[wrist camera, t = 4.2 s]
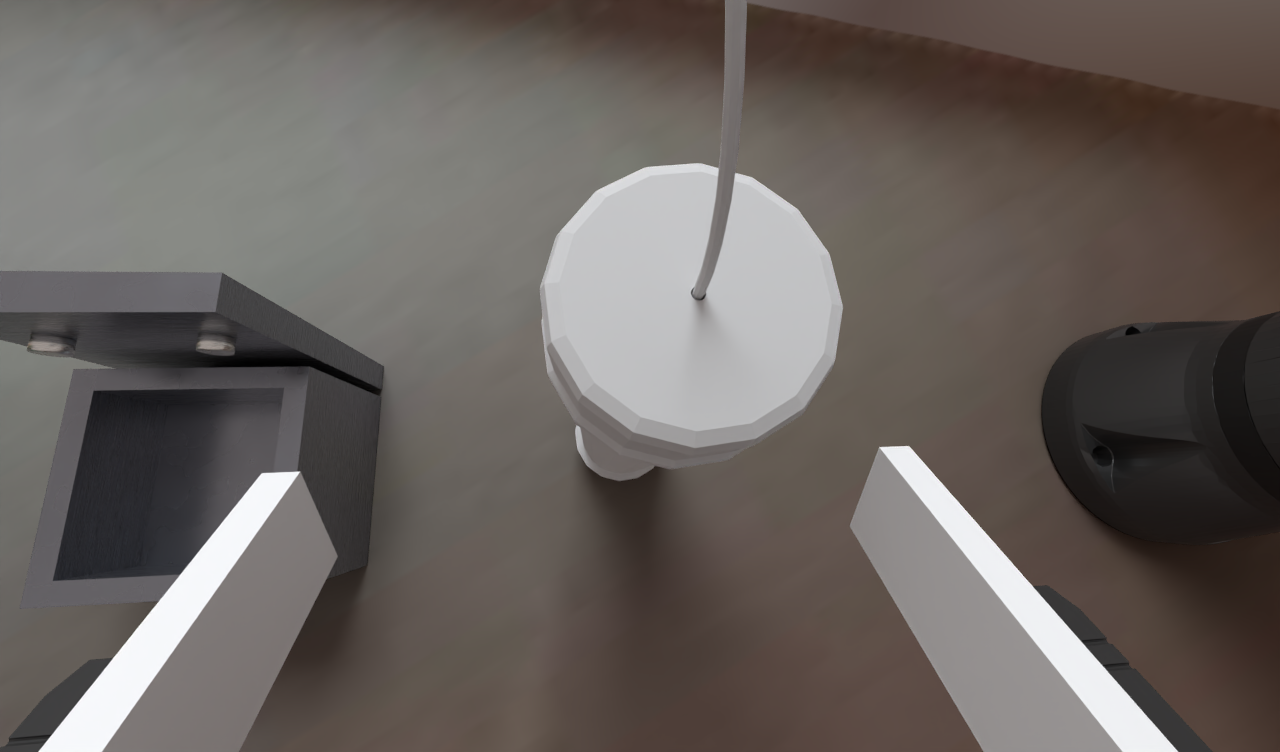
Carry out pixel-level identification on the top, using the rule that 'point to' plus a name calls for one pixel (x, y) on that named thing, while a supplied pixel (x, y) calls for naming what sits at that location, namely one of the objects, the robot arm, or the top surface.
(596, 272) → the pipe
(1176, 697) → the top surface
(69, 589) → the grey open box
